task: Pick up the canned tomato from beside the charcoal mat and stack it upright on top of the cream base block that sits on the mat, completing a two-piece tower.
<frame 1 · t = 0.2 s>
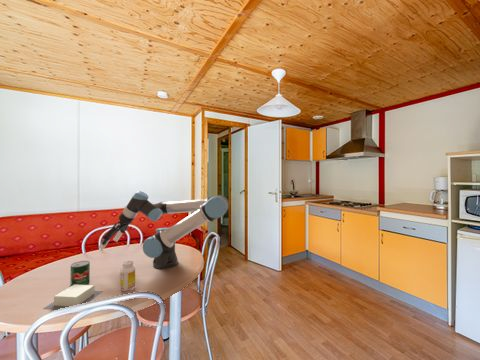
hand: (108, 244, 123), 16 cm above the table, tool tilted 35°, fingers open, 13 cm apart
charcoal blueprint mat: (75, 300, 93), on the table
cream base block: (75, 299, 93), resting on charcoal blueprint mat
canned tomato: (80, 285, 107), on the table
supplement bottle: (127, 288, 104), on the table
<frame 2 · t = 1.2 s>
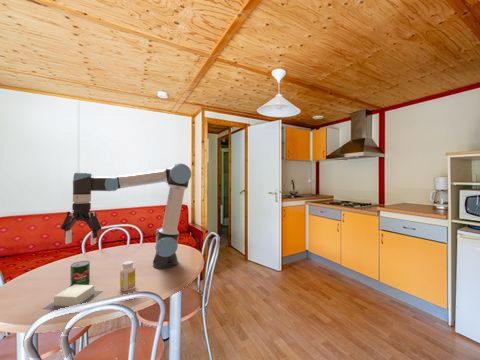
hand: (80, 243, 107), 21 cm above the table, tool pointing down, fingers open, 13 cm apart
nothing on the table moved.
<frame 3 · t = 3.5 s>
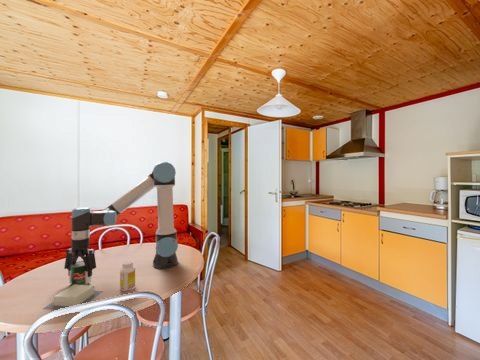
hand: (80, 282, 107), 1 cm above the table, tool pointing down, fingers closed on canned tomato, 8 cm apart
canned tomato: (80, 285, 107), on the table, touching gripper
everything else where it was.
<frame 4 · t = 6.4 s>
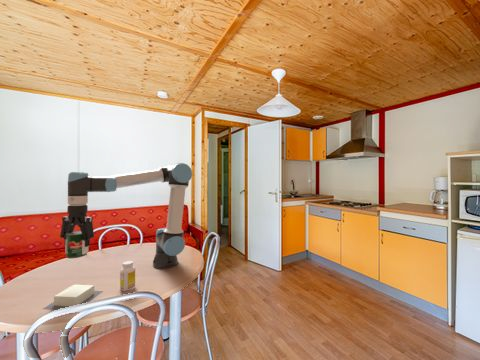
hand: (76, 252, 98), 19 cm above the table, tool pointing down, fingers closed on canned tomato, 8 cm apart
canned tomato: (76, 255, 98), point 18 cm above the table, touching gripper
everything else where it was.
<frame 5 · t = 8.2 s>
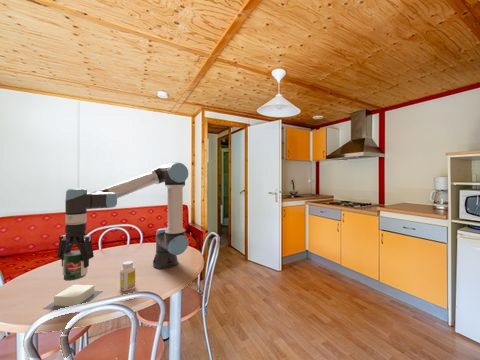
hand: (75, 274, 93), 12 cm above the table, tool pointing down, fingers closed on canned tomato, 8 cm apart
canned tomato: (75, 277, 93), point 10 cm above the table, touching gripper
everything else where it was.
when the fingers open (7 cm above the table, at t = 9.5 s): canned tomato drops 2 cm, resting on cream base block.
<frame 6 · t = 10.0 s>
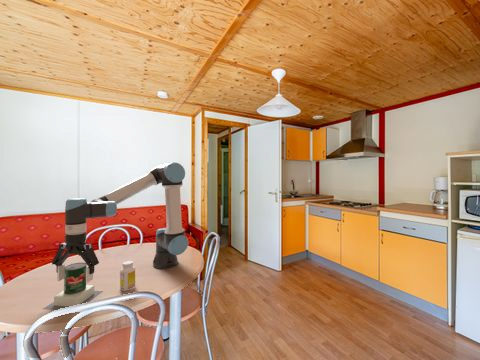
hand: (75, 280, 93), 9 cm above the table, tool pointing down, fingers open, 13 cm apart
cream base block: (75, 299, 93), resting on charcoal blueprint mat, touching canned tomato
canned tomato: (75, 290, 93), point 4 cm above the table, touching cream base block
everything else where it was.
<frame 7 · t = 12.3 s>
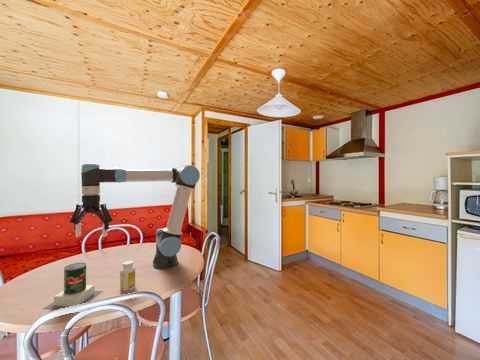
hand: (91, 236, 105), 25 cm above the table, tool pointing down, fingers open, 13 cm apart
nothing on the table moved.
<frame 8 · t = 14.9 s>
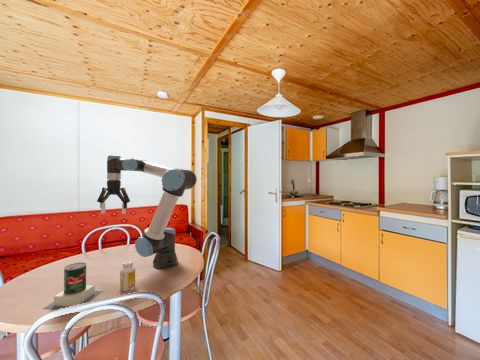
hand: (113, 213, 132), 33 cm above the table, tool pointing down, fingers open, 13 cm apart
nothing on the table moved.
at the end: canned tomato 0.0 cm off-centre on the cream base block, point 3.8 cm above the cream base block's base; canned tomato tilted 0°; cream base block moved 0.0 cm from its start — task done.
